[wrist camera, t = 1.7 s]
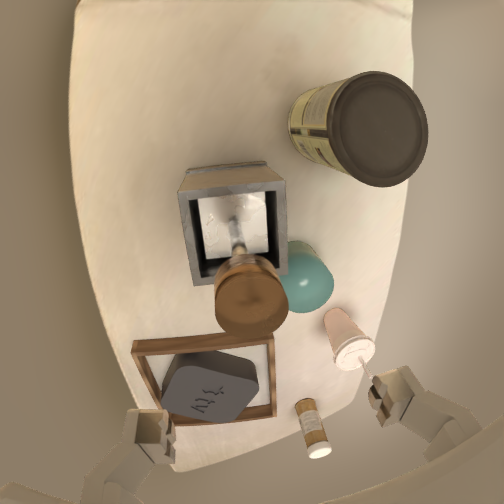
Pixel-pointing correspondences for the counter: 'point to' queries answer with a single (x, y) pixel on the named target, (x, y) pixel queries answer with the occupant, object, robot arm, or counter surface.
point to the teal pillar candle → (306, 279)
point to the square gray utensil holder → (230, 183)
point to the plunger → (242, 265)
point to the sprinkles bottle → (312, 429)
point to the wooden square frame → (200, 345)
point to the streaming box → (209, 386)
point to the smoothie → (348, 342)
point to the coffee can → (362, 128)
